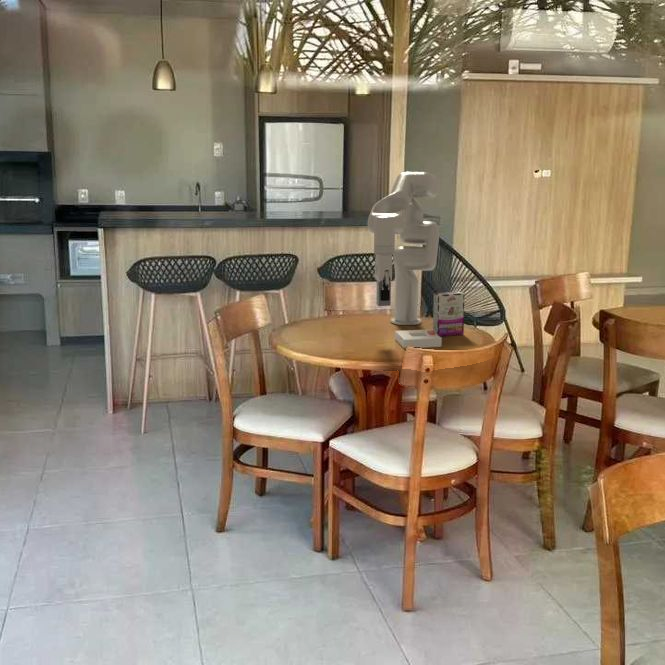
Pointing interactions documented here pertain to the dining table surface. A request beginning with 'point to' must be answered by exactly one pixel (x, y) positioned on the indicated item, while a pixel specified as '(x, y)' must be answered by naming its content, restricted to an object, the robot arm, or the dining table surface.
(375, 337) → the dining table surface
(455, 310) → the candy bar box
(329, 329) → the dining table surface
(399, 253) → the robot arm
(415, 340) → the socket plate
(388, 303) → the plug
